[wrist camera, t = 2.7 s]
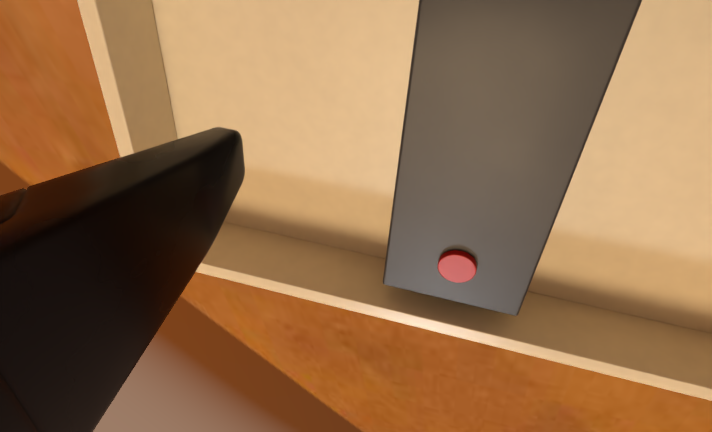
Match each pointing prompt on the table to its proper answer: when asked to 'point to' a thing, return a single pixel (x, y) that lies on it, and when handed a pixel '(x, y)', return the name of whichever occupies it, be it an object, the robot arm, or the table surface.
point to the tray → (380, 161)
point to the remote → (495, 139)
